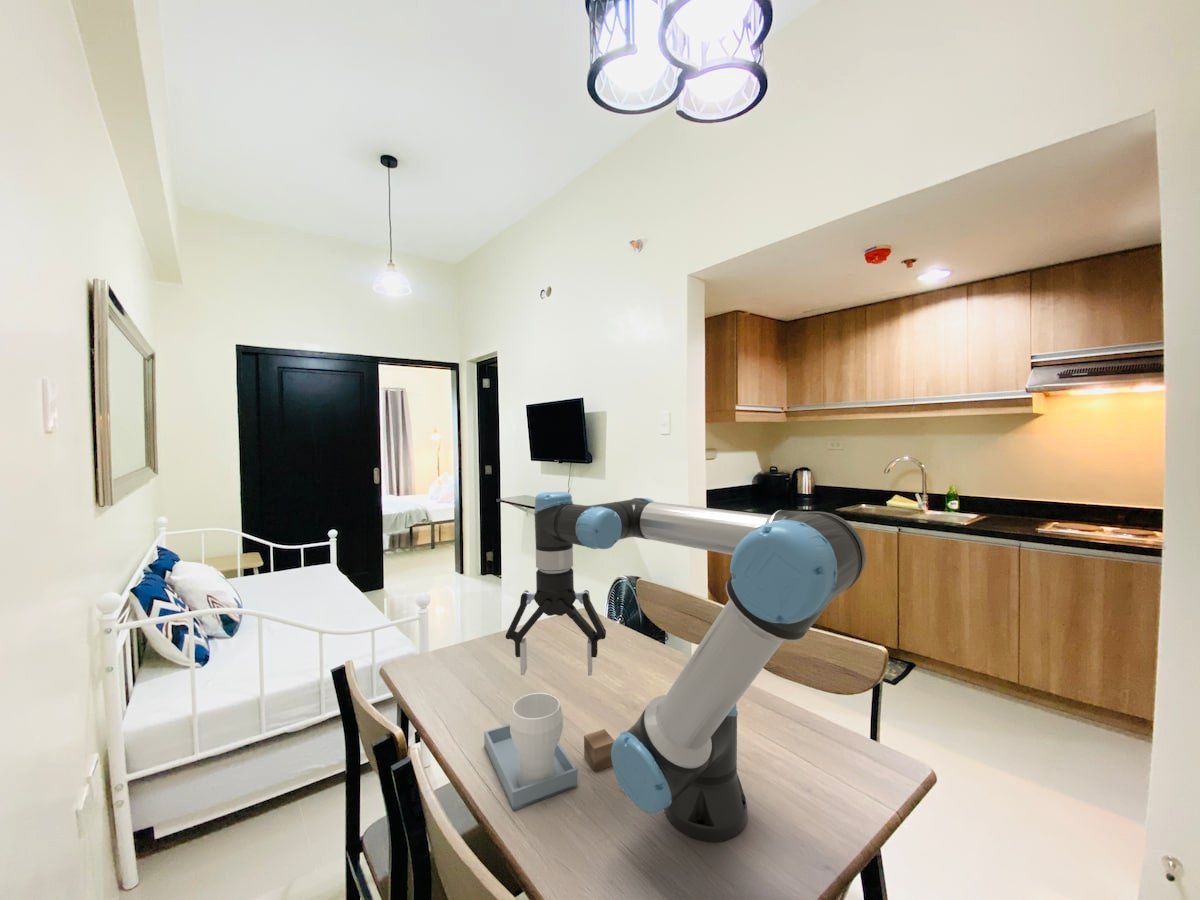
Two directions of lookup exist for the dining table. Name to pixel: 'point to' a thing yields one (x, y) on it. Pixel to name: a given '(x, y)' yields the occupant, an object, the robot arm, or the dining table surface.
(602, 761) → the walnut cube
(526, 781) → the cup
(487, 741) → the tray
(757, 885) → the dining table surface
